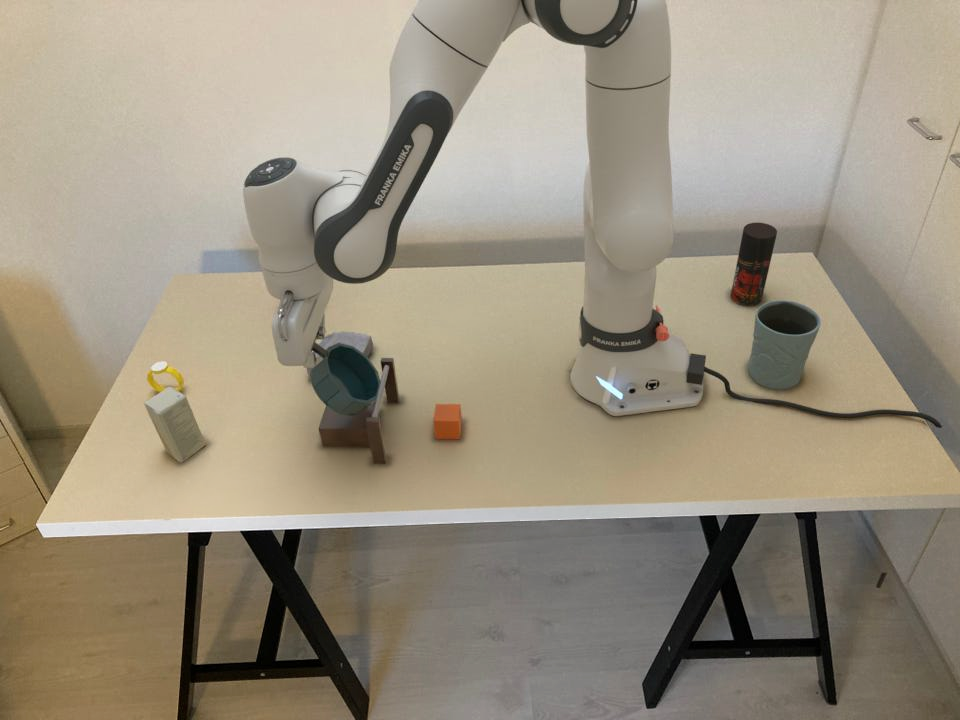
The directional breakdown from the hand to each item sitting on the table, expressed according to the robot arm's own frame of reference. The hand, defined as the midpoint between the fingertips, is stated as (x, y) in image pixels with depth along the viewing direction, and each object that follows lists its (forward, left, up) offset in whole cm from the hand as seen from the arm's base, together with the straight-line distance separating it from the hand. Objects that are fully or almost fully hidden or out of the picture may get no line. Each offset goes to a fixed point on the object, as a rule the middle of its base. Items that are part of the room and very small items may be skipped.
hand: (315, 350), depth 117 cm
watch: (+31, -9, -17) cm, 37 cm away
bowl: (-1, 0, -6) cm, 6 cm away
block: (-21, 0, -15) cm, 26 cm away
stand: (-4, 0, -17) cm, 17 cm away
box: (+23, +5, -17) cm, 29 cm away
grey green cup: (-75, -15, -17) cm, 78 cm away
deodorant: (-75, -38, -17) cm, 85 cm away
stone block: (+2, -17, -17) cm, 24 cm away
